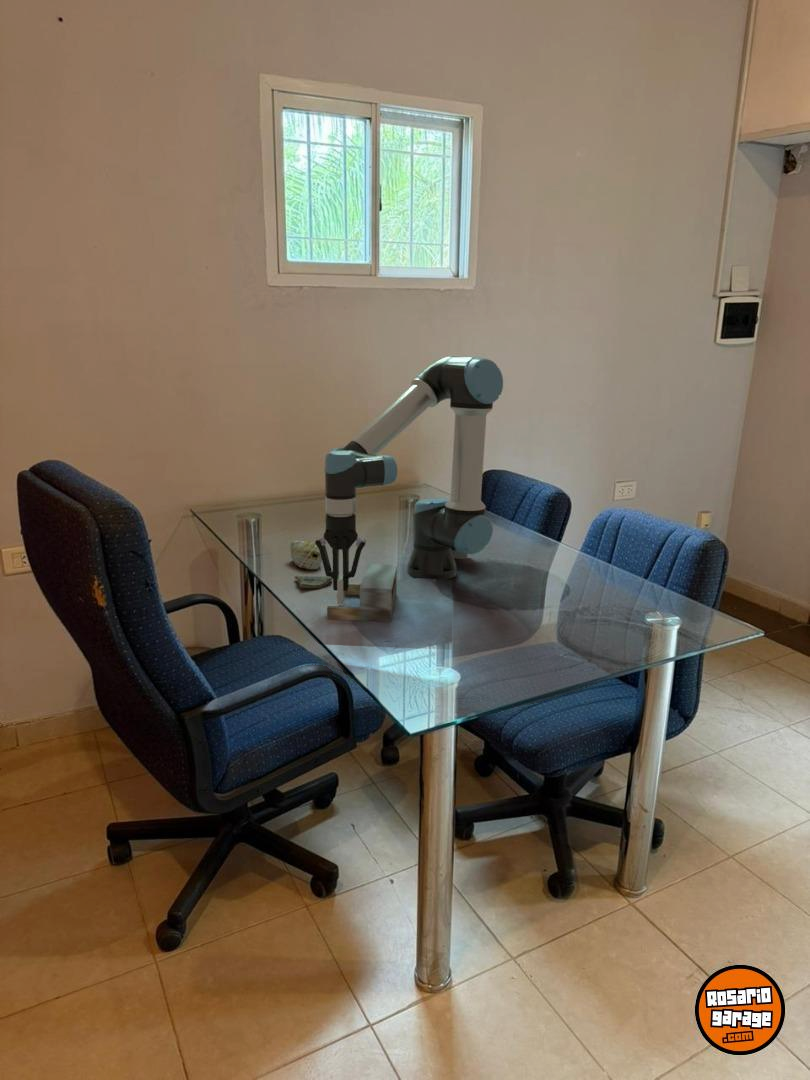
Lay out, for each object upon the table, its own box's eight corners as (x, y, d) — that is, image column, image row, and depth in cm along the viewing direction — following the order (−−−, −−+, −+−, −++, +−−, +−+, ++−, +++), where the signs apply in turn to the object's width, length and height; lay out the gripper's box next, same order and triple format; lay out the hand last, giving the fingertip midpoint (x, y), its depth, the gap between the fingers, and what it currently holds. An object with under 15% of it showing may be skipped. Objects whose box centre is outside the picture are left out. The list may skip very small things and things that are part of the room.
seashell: (320, 569, 218) (309, 536, 217) (291, 578, 221) (279, 546, 220) (331, 562, 228) (320, 531, 227) (303, 571, 230) (292, 540, 230)
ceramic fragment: (295, 584, 202) (294, 568, 212) (295, 594, 204) (294, 578, 213) (335, 585, 204) (332, 569, 214) (334, 595, 206) (332, 579, 215)
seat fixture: (396, 595, 202) (397, 565, 200) (390, 621, 184) (391, 589, 181) (338, 592, 203) (338, 562, 201) (327, 619, 184) (327, 586, 182)
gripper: (368, 510, 190) (367, 598, 197) (317, 509, 191) (318, 596, 197) (364, 517, 183) (364, 608, 189) (312, 516, 184) (313, 606, 190)
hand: (340, 601), depth 193 cm, fingers closed
